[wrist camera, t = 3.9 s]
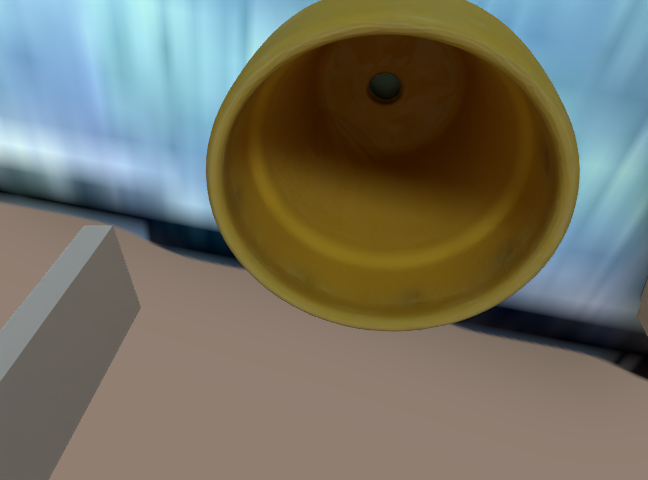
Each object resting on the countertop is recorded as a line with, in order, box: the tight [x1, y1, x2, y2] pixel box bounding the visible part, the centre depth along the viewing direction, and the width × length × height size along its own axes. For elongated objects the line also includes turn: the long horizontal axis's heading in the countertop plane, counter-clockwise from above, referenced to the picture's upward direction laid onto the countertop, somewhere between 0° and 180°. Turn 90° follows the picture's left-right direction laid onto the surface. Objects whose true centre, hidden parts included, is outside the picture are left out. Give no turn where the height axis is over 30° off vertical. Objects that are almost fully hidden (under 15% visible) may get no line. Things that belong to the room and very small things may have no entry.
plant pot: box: [206, 0, 580, 331], centre depth 19 cm, size 10×10×10 cm
